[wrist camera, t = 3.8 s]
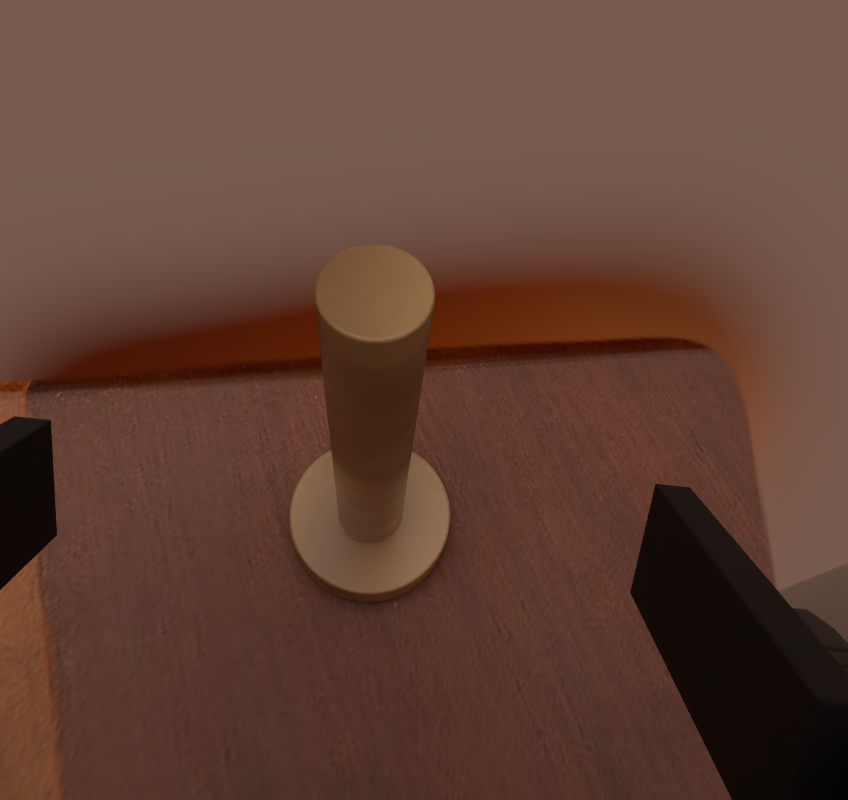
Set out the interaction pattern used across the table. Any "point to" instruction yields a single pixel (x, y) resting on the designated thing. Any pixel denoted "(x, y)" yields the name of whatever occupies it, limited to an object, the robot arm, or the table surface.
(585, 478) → the table surface
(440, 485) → the masher
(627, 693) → the table surface
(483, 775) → the table surface
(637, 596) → the robot arm
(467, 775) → the table surface
